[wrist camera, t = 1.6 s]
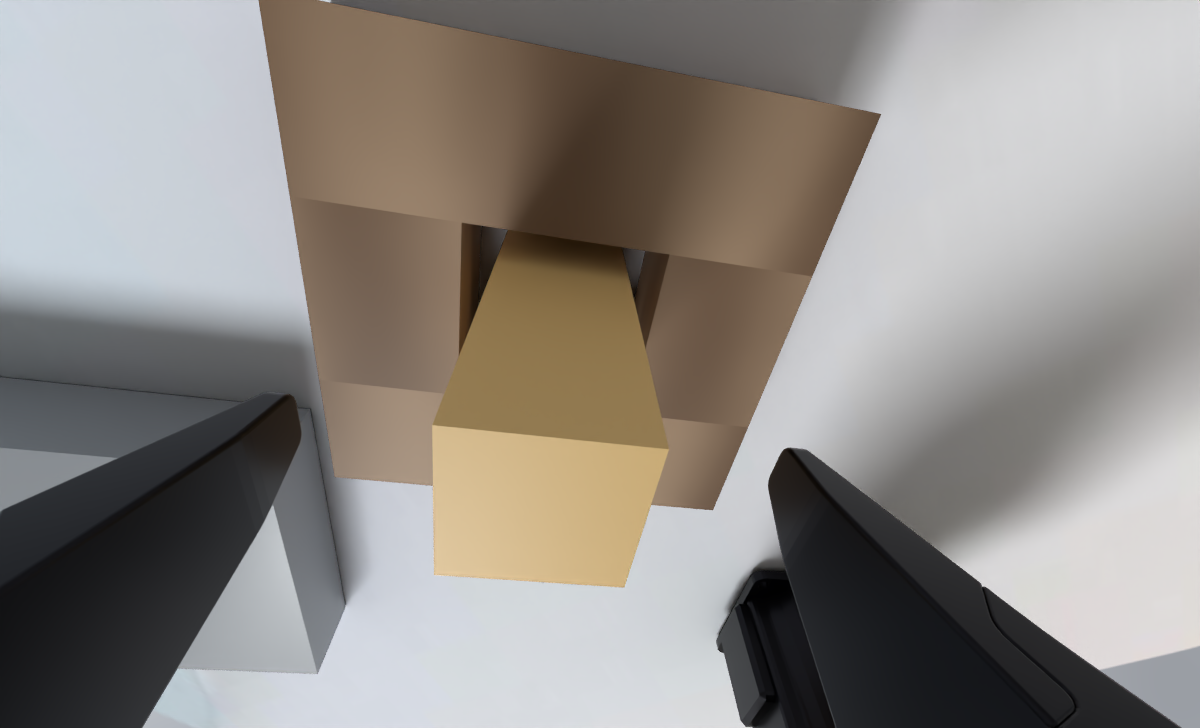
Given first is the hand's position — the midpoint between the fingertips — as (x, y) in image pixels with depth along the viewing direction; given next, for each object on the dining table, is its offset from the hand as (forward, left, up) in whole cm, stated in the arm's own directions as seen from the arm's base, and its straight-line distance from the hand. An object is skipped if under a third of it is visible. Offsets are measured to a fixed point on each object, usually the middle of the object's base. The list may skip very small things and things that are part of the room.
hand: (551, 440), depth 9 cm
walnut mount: (0, 0, -7) cm, 7 cm away
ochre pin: (0, 0, -7) cm, 7 cm away
